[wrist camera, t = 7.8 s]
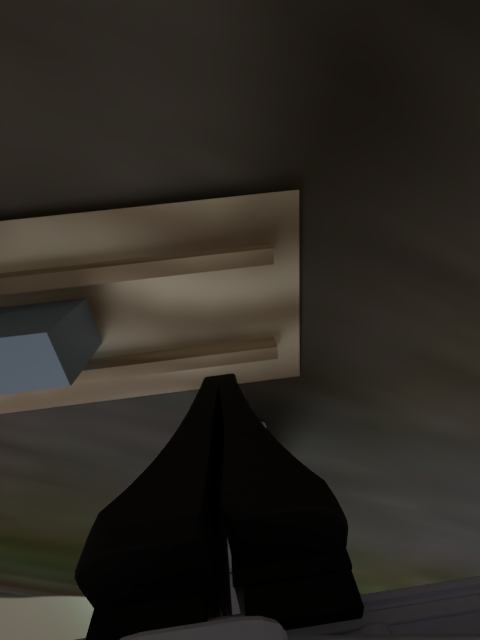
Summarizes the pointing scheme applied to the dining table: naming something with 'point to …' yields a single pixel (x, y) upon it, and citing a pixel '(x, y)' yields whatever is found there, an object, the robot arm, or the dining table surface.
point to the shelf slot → (165, 292)
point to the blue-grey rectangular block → (45, 344)
